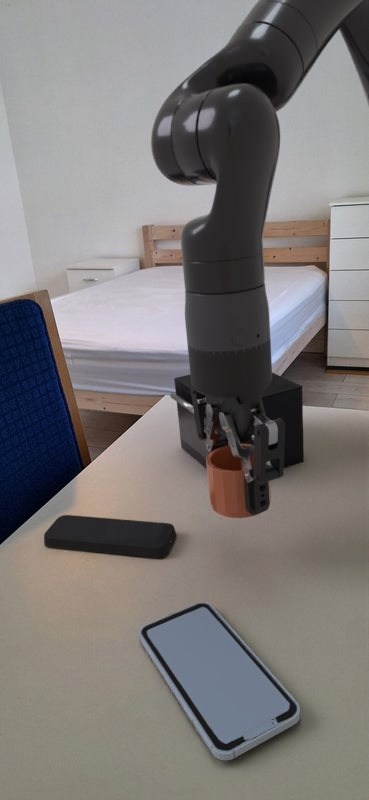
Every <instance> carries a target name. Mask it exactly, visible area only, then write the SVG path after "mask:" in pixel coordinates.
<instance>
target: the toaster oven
mask: <svg viewBox="0 0 369 800" xmlns="http://www.w3.org/2000/svg"><path fill="white" fill-rule="evenodd" d="M173 380H174V387H175V388H174V390H175V392H171V393H170V396H169V397H170V398H171V399H172V400H174V401H175V402H176V406H177V407H176V409H177V419H178V427H179V428H178V429H179V437H180V438H179V439H180V447H181V449H183V450H184V451H185V452H186V453H187V454H189V456H190V457H192V458H193V459H194V460H195V461H197V463H199V464H200V465H201V466H203V467H204V468H205V469H206V470H207V464H206V458H207V456H208V455H209V453H210V452H209V451H208V450H207V448H206V444H205V442H206V440H205V439H204V440H200V439H199V438H198V435H197V428H196V422H195V415H194V409H193V402H192V396H191V386H192V383H191V374H186V375H181V376H178V377H174V378H173ZM261 399H262V404H263V407H264V410H265V416H266V417H267V418H269V419H270V420H271V421H273V420H276V419H279V418H281V419H282V420H283V421H284V423H285V450H284V469H285V468H288V467H291V466H294V465H297V464H300V463H303V462H304V461H305V457H304V456H305V454H304V453H305V452H304V417H303V416H304V408H303V406H304V403H303V386H302V385H301V384H299V383H296V382H294V381H292V380H290V379H288V378H286V377H284V376H281V375H280V374H277V373H275V372H272V380H271V382H270V384H269V385H268V386H267V387H266V388H265V389H264V390H263V392H262V394H261ZM205 422H206V417H205V418H204V424H205ZM240 444H251V445H254V441H253V440H250V441H247V442H244V443H240ZM270 463H271V465H272V460H271V461H270Z"/></svg>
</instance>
